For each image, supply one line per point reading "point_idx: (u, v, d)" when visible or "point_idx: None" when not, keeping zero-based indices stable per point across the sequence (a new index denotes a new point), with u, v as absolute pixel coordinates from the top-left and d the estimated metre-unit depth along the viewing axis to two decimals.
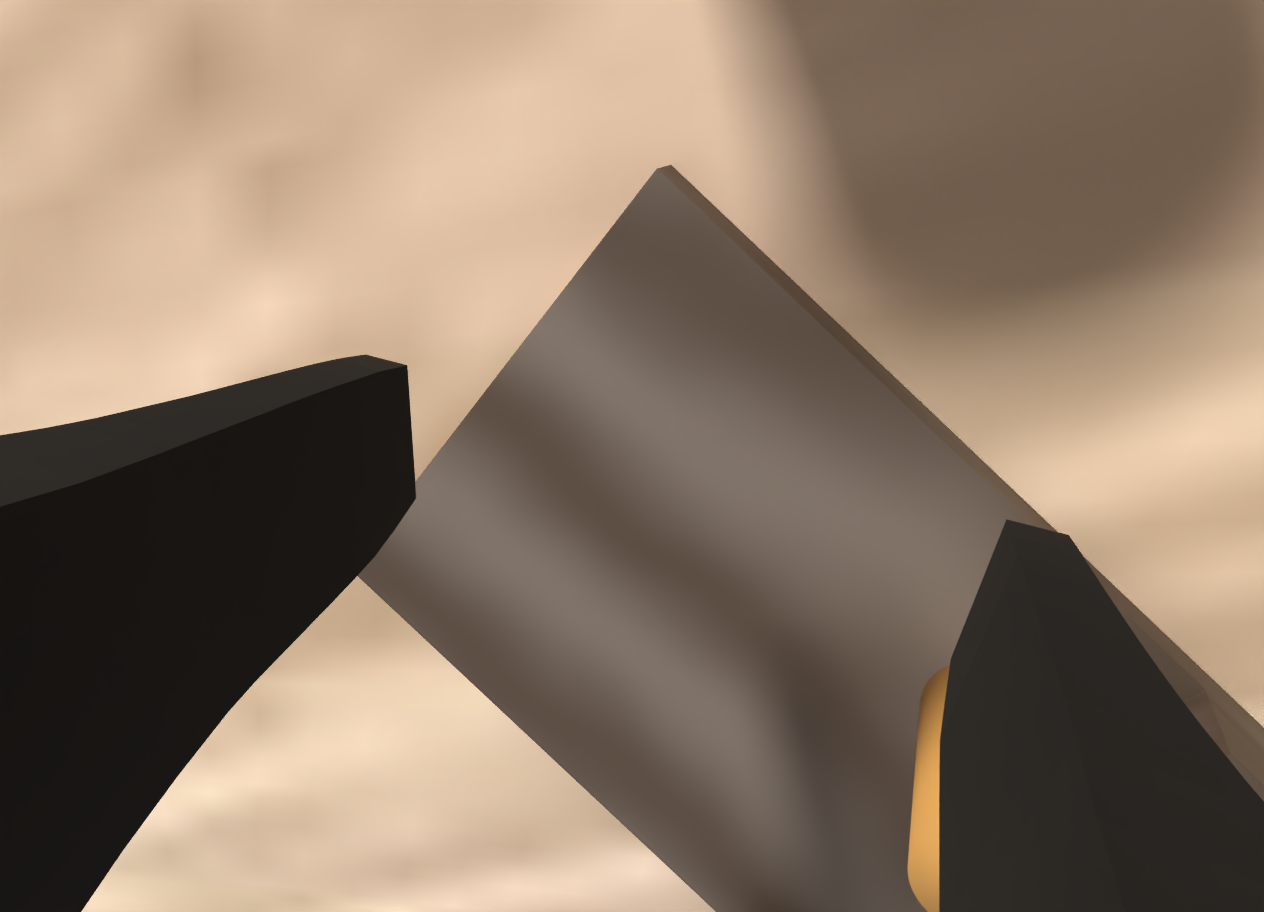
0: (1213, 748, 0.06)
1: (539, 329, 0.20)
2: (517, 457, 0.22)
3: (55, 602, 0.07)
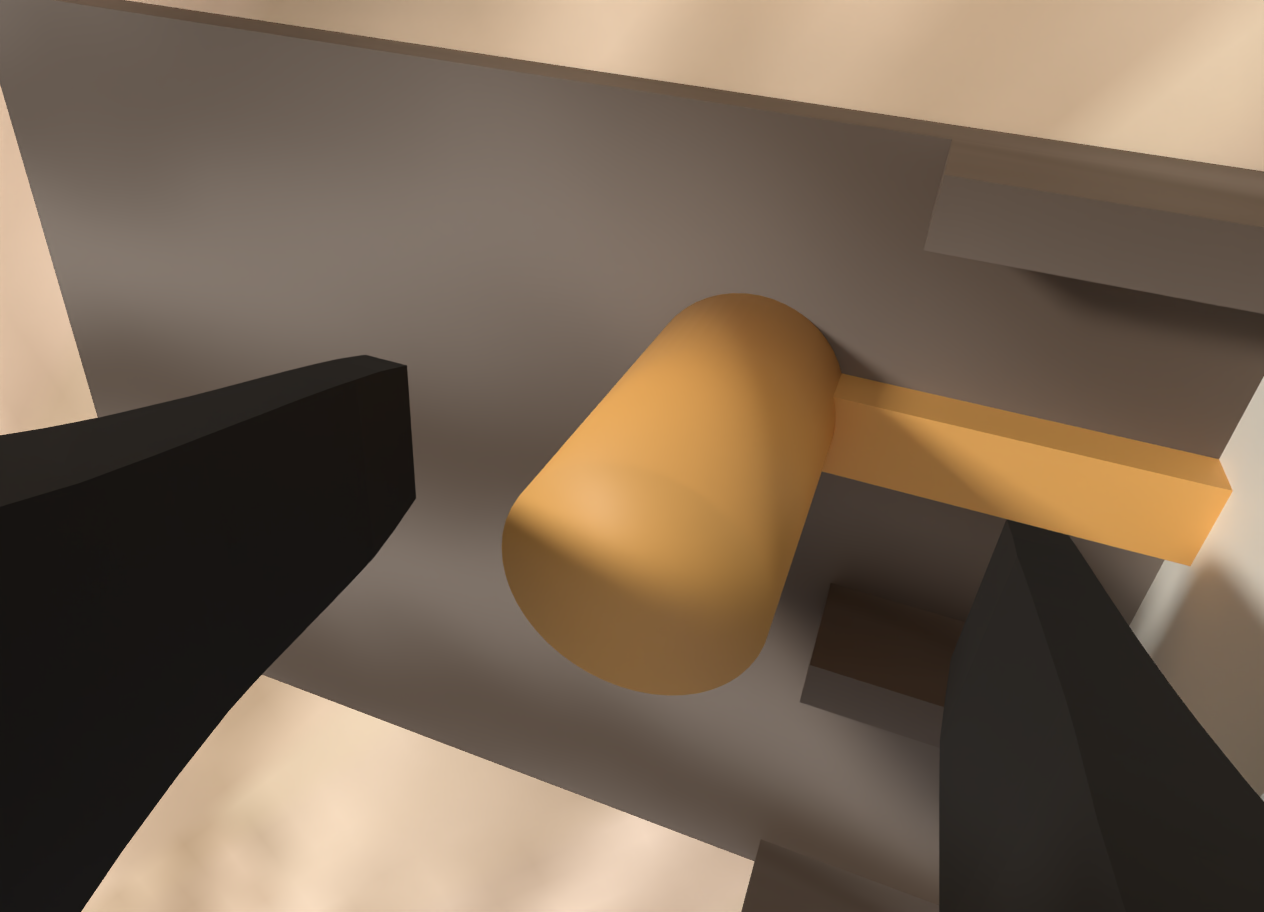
0: (1213, 749, 0.06)
1: (56, 259, 0.17)
2: None
3: (55, 602, 0.07)
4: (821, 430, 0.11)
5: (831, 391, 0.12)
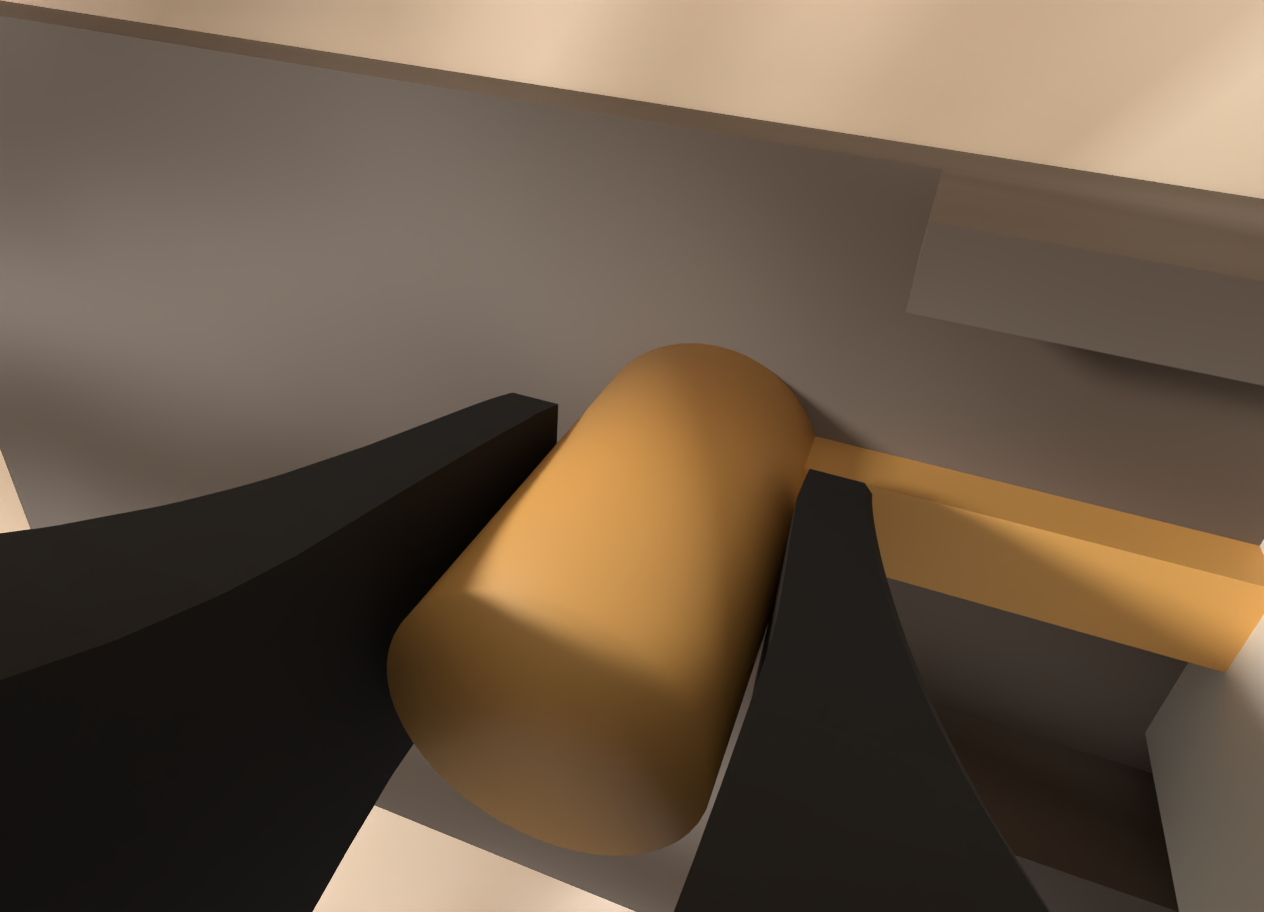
0: (899, 653, 0.06)
1: None
2: (63, 461, 0.16)
3: (268, 683, 0.06)
4: (787, 515, 0.09)
5: (801, 462, 0.10)
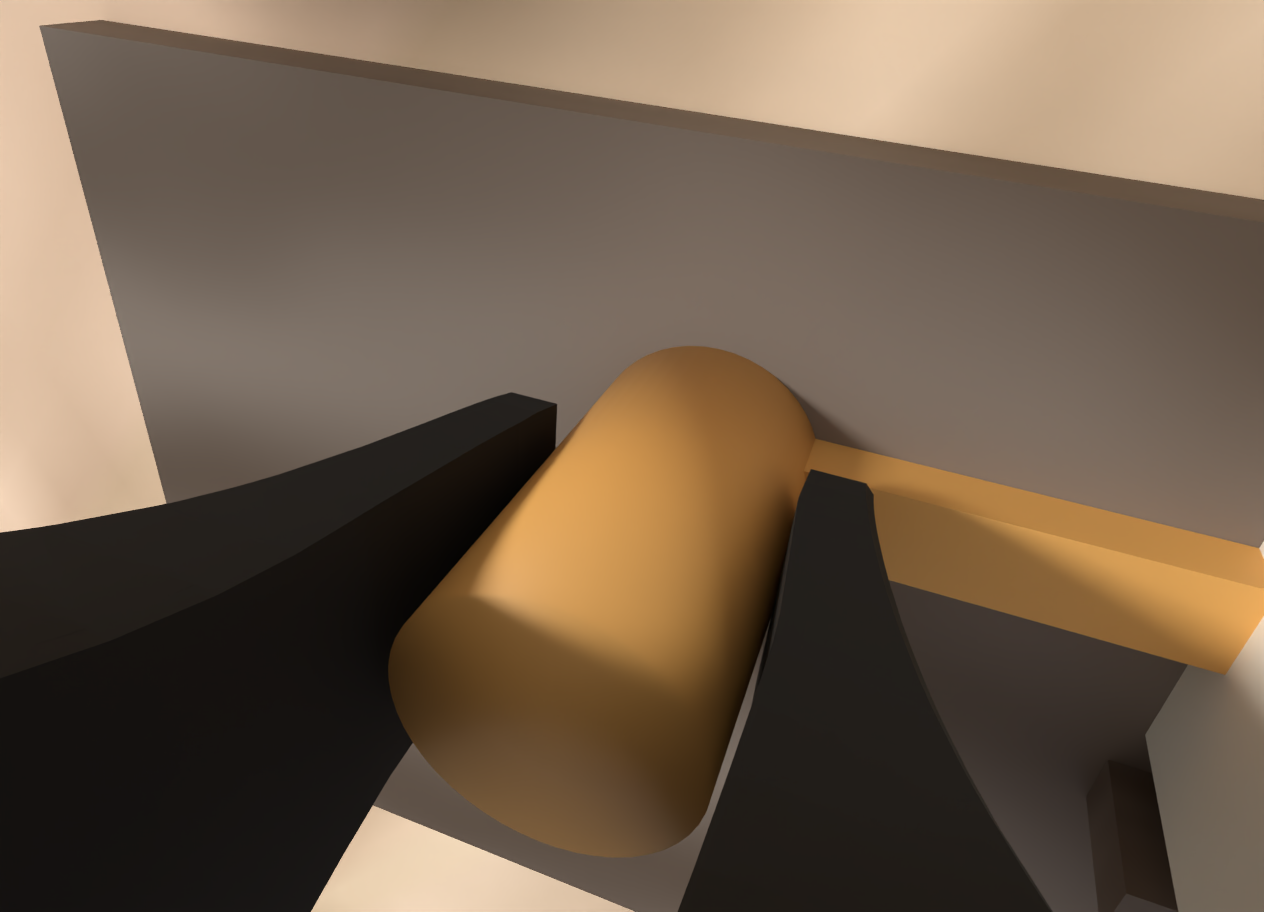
0: (902, 654, 0.06)
1: (130, 342, 0.14)
2: None
3: (267, 683, 0.06)
4: (787, 517, 0.09)
5: (801, 465, 0.10)
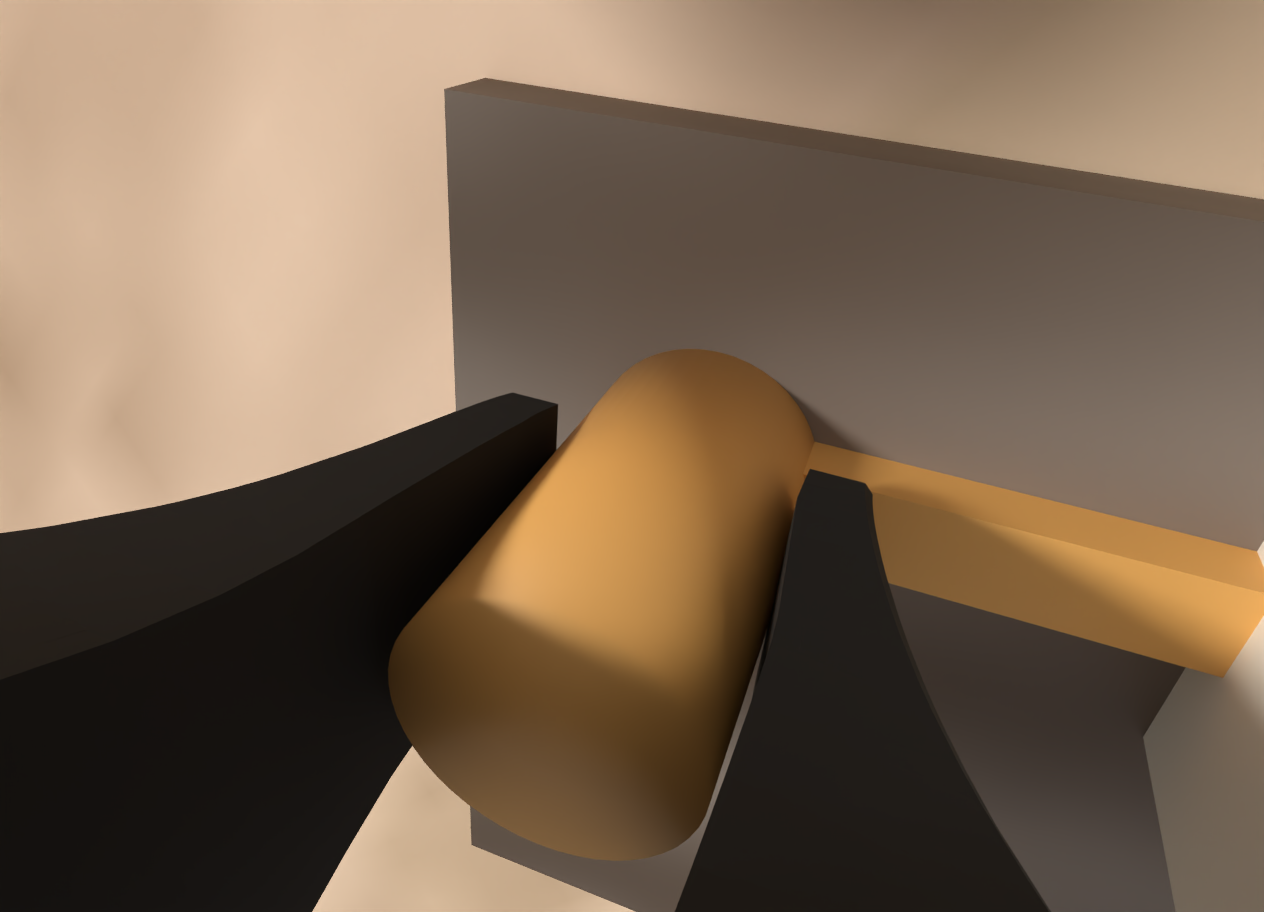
0: (900, 653, 0.06)
1: None
2: None
3: (269, 683, 0.06)
4: (786, 520, 0.09)
5: (800, 468, 0.10)
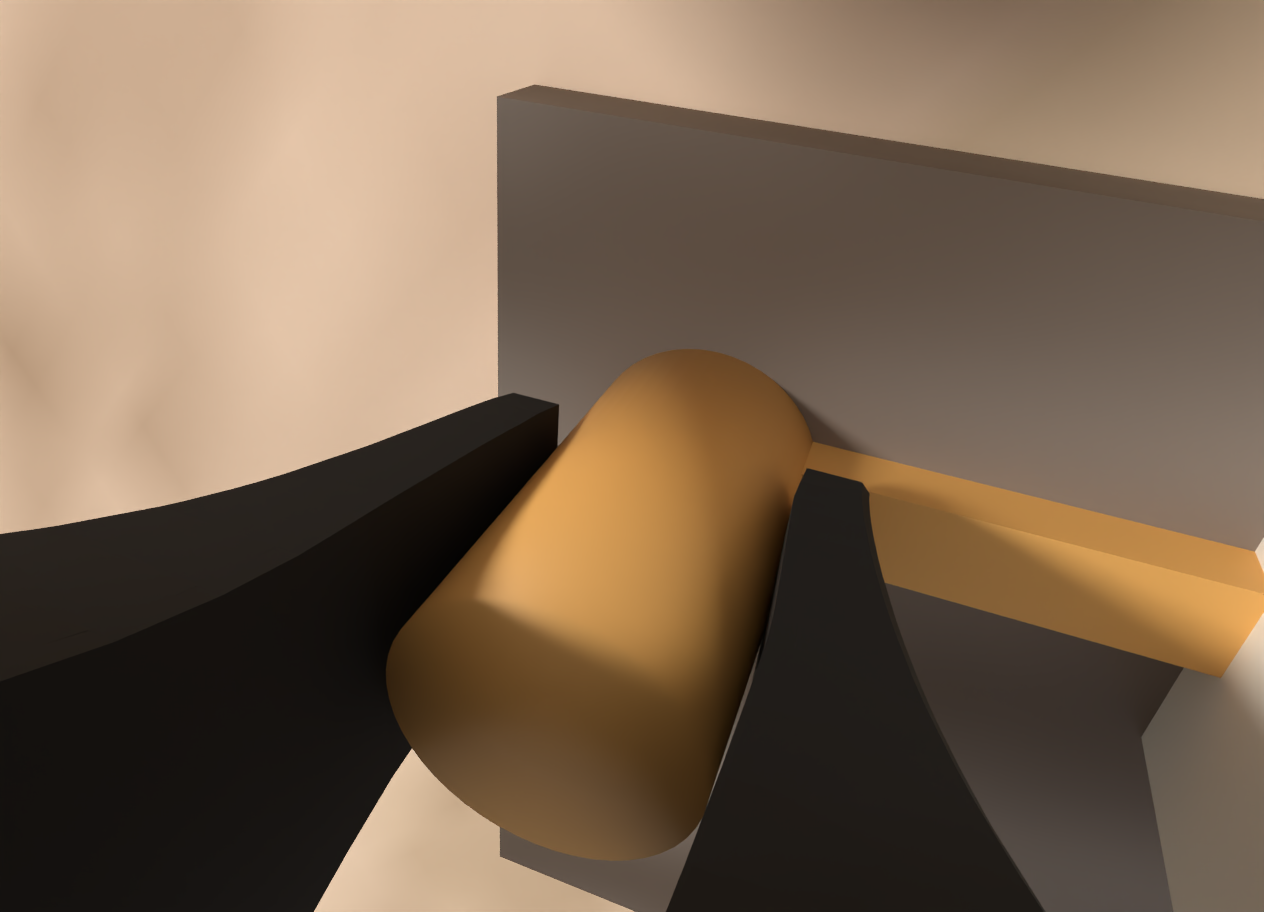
0: (895, 652, 0.06)
1: None
2: None
3: (270, 683, 0.06)
4: (784, 521, 0.09)
5: (798, 468, 0.10)
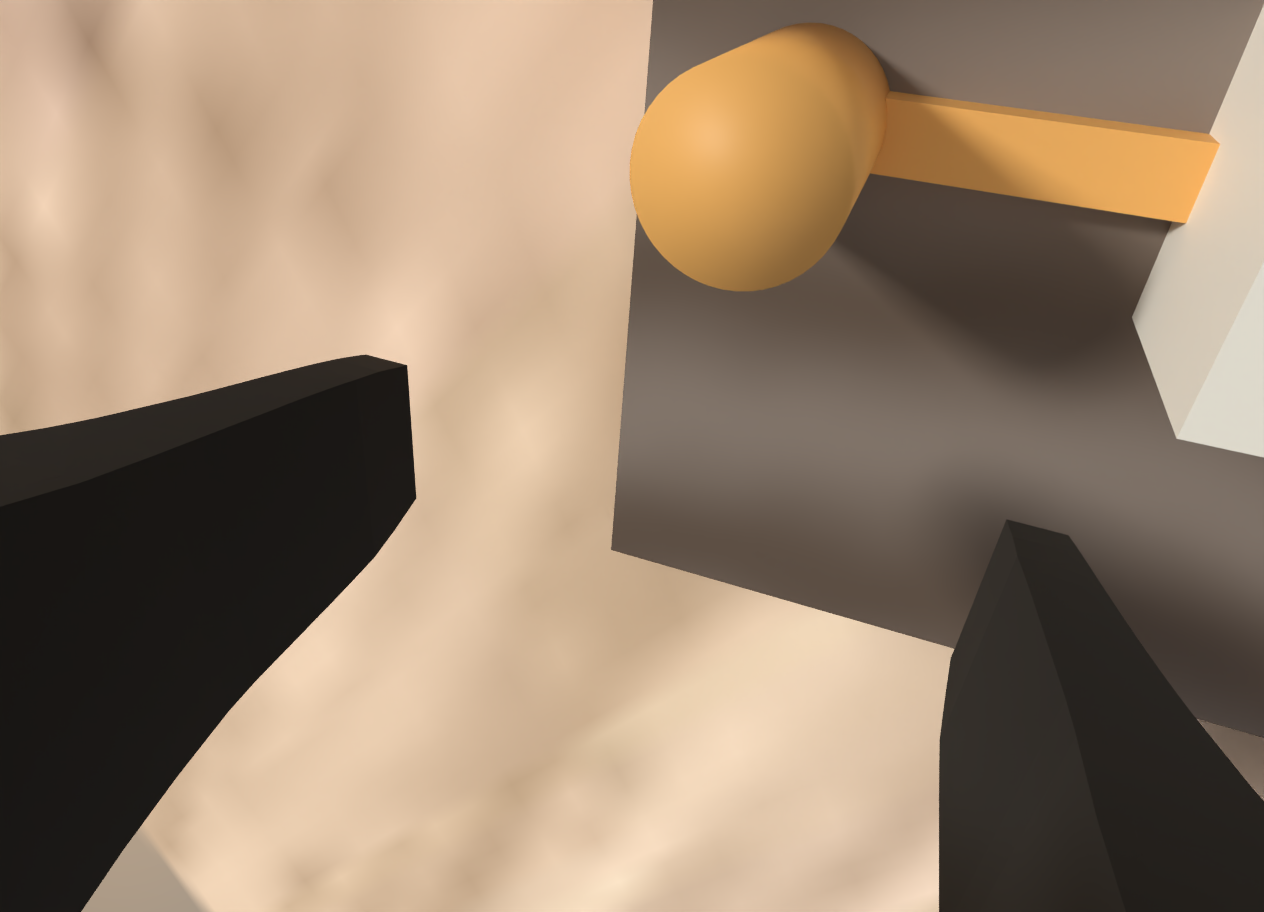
0: (1213, 748, 0.06)
1: None
2: (708, 302, 0.18)
3: (55, 602, 0.07)
4: (879, 108, 0.13)
5: (884, 91, 0.14)
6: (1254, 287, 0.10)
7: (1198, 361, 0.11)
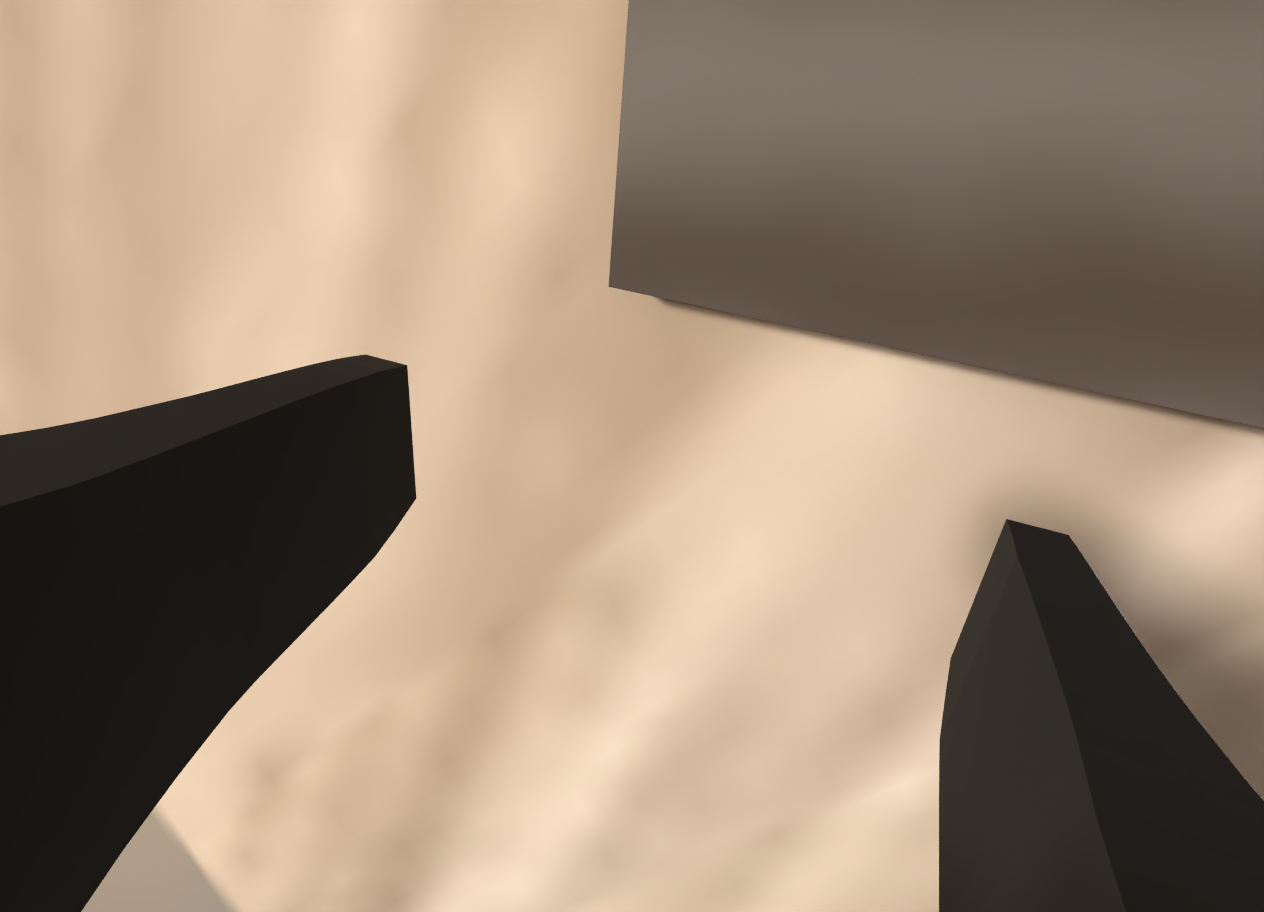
0: (1213, 748, 0.06)
1: None
2: None
3: (55, 602, 0.07)
4: None
5: None
6: None
7: None
